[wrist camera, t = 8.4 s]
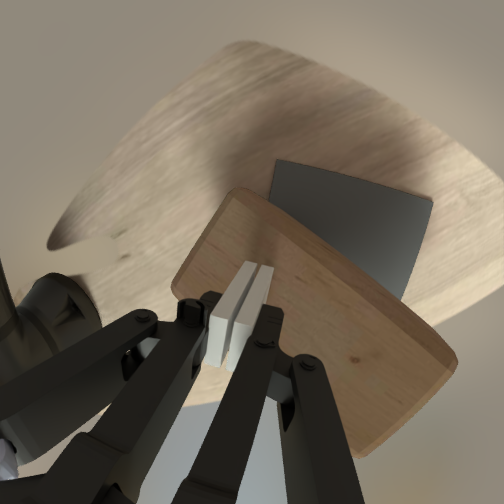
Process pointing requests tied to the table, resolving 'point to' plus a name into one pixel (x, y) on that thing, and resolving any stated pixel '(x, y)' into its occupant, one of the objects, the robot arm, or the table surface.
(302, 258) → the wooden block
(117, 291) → the table surface
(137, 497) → the robot arm
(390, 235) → the mat
